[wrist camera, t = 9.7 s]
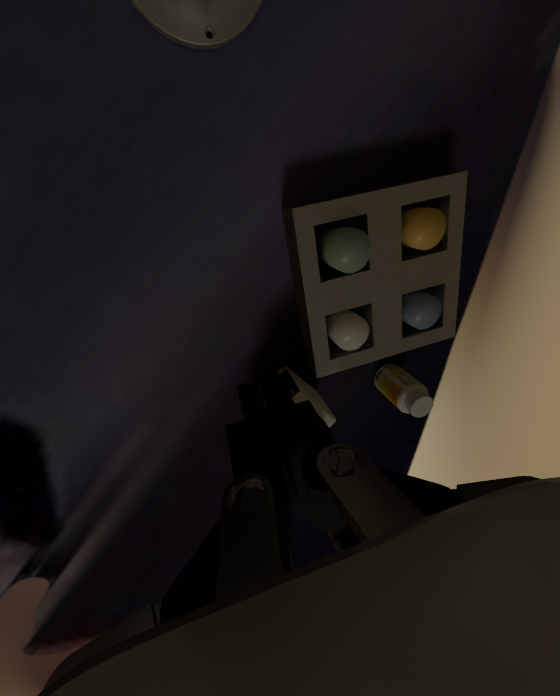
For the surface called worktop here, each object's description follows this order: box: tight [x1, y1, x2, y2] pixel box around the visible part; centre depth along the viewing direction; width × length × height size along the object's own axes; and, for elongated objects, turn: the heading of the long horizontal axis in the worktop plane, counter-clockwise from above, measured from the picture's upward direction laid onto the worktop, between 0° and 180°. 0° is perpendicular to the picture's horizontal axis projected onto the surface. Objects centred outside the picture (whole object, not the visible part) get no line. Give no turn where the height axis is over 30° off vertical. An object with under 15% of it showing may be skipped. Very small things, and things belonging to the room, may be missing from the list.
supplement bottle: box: [374, 364, 433, 417], centre depth 45 cm, size 5×5×8 cm
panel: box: [282, 171, 468, 378], centre depth 39 cm, size 20×20×4 cm
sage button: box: [317, 226, 371, 273], centre depth 35 cm, size 4×4×4 cm
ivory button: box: [325, 309, 369, 351], centre depth 40 cm, size 4×4×4 cm
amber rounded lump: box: [401, 207, 446, 250], centre depth 37 cm, size 4×4×4 cm
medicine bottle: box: [259, 366, 336, 443], centre depth 40 cm, size 7×7×12 cm
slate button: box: [402, 290, 441, 329], centre depth 42 cm, size 4×4×4 cm
